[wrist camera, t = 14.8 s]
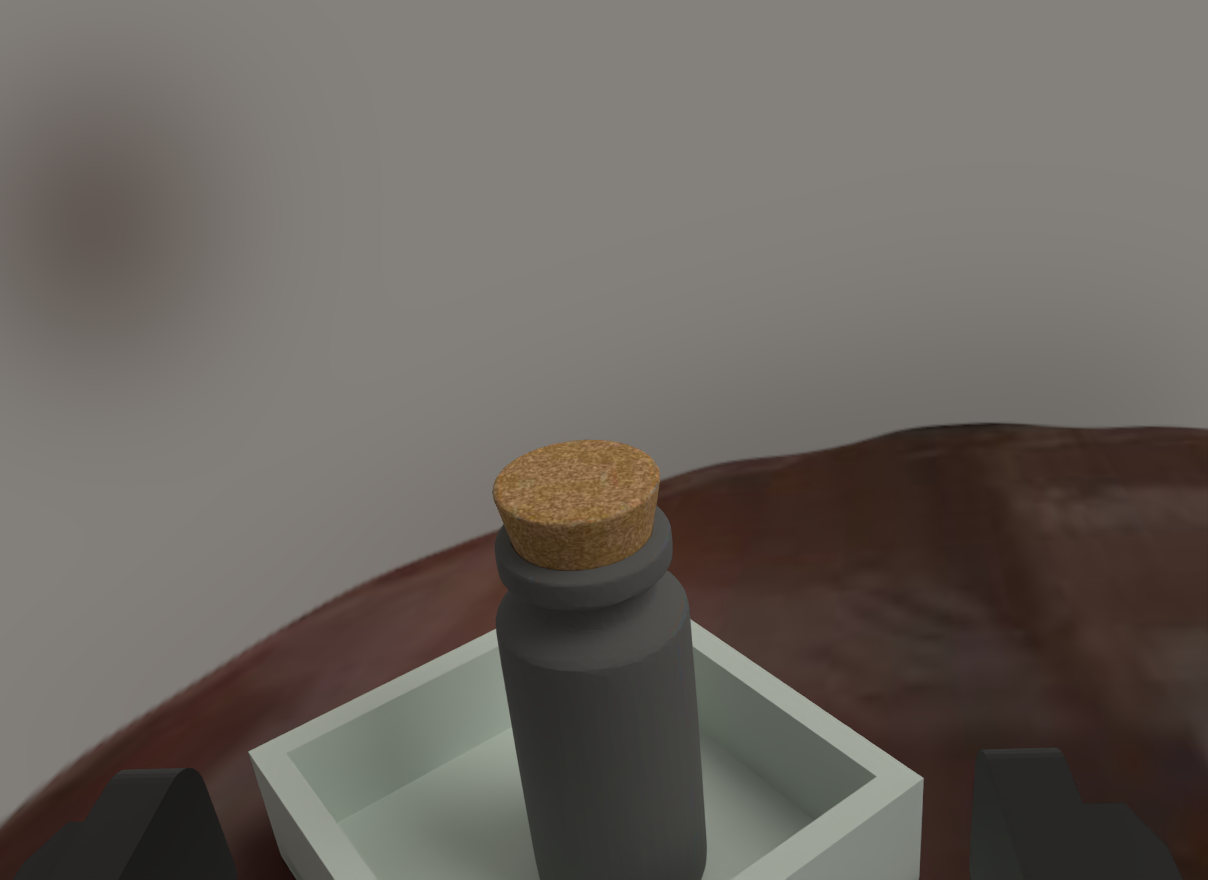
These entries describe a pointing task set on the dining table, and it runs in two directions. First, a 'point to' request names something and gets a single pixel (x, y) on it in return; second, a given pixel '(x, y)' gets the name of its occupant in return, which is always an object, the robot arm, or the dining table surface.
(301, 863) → the bin
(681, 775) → the bottle
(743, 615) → the dining table surface
